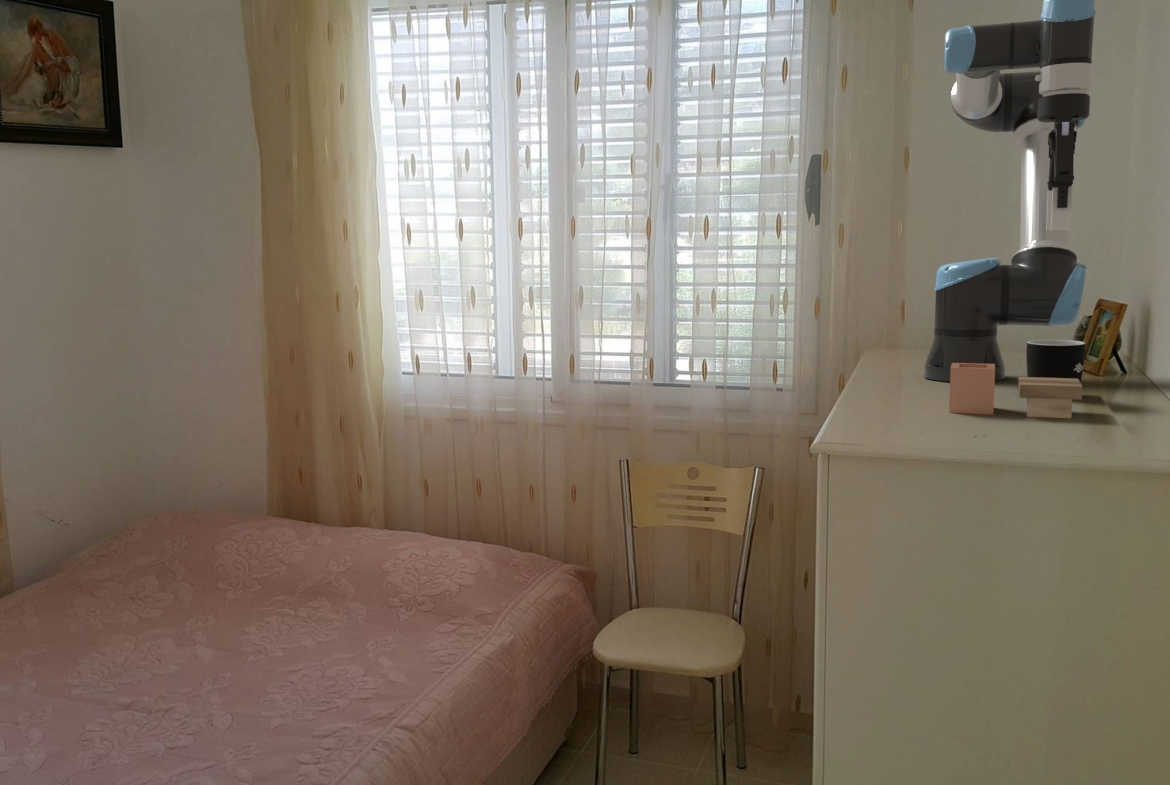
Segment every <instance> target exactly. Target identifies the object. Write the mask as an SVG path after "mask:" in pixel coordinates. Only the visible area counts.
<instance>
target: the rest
mask: <svg viewBox="0 0 1170 785" xmlns="http://www.w3.org/2000/svg"><path fill="white" fill-rule="evenodd" d="M1025 402H1026V403H1025V404H1026V408H1025V411H1026V416H1027V417H1028V418H1030V417H1031V418H1055V419H1072V415H1073V414H1072V412H1073V399H1045V398H1026V401H1025Z"/></svg>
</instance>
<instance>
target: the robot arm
mask: <svg viewBox="0 0 1170 785" xmlns="http://www.w3.org/2000/svg"><path fill="white" fill-rule="evenodd" d="M1096 12H1097V11H1096V10H1095V0H1043V1H1042V7H1041V14H1040V19H1039V20H1029V21H1017V22H1006V23H1005V22H1004V23H995V24H994V23H992V24H979V25H978V24H977V25H970V24H969V25H965V26H960V27H954V28H950V29H948V30H947V31H946V32H945V36H944V71H945V72H946V73H948V74H955V76H956V77H955V78H956V80H955V83H954V85H953V87H952V90H951V95H950V104H951V107H952V110H953V111H954V114H956V116H957V117H958V118H959V119H960V120H961V121H963V123H966V124H967V125H969V126H971V127H973V128H976V129H978V130H981V131H986V132H988V133H989V132H990V133H1006V132H1009V133H1011V132H1013V139H1014V141H1015V142H1016V143H1017V144H1018V145H1020V146H1021V153H1020V154H1021V160H1020V161H1021V162H1020V164H1021V165H1020V172H1021V173H1020V179H1021V180H1020V226H1019V228H1020V230H1019V231H1020V233H1019V235H1020V236H1019V250H1017V251H1016V252H1015V253H1014V254H1013V255H1012V256H1011V259H1010V260H1011V261H1010V264H1001V260H1000V258H999V257H989V258H988V257H987V258H982V259H973V260H972V259H971V260H966V261H965V260H964V261H959V262H953V263H947V264H943V265H941V266H940V267H939V268H938V269H937V271H936V275H935V276H936V279H935V287H934V289H933V290H934V292H935V305H934V306H935V307H934V326H933V329H934V331H933V332H934V333H933V334H934V335H933V341H932V344H931V347H930V349H929V352H928V354H927V356H926V357H927V358H926V360H925V363H924V366H923V377H924V378H926V379H928V380H933V381H941V382H949V383H950V371H951V365H952V363H979V364H995V382H998V381H999V382H1000V381H1003V380H1005V378H1006V366H1005V362H1004V359H1003V356H1002V352H1001V350H1000V345H999V342H998V326H1044V327H1045V326H1046V327H1047V326H1048V327H1052V326H1067V325H1068V326H1069V325H1072V324H1073V323H1075V321H1077V318H1078V315H1079V312H1080V307H1081V304H1082V298H1083V293H1084V286H1085V282H1086V273H1087V270H1086V269H1087V266H1086V264H1084V263H1082V262H1081V263H1080V262H1078V255H1077V253H1076V252H1075V251H1074V250H1072V249H1071V248H1070V247H1069V231H1070V230H1071V226H1072V225H1071V221H1072V202H1073V185H1074V180H1075V175H1074V162H1075V161H1074V160H1075V159H1074V154H1075V152H1076V142H1077V137H1078V136H1077V134H1078V133H1077V131H1078V129H1080V128H1082V127H1083V126H1084V124H1085V120H1086V119H1088V118H1089V117H1090V110H1091V109H1090V106H1091V95H1089V94H1088V93H1087V92H1089V91H1090V90H1091V89H1092V78H1093V77H1092V76H1093V75H1092V74H1093V73H1092V71H1093V62H1092V54H1093V42H1094V41H1093V40H1094V22H1095V16H1096ZM1032 68H1033V69H1034V68H1039V70H1038V71H1023V72H1007V73H1003V72H1002V73H1001V71H1005V70H1006V71H1007V70H1018V69H1032Z"/></svg>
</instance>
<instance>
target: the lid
mask: <svg viewBox="0 0 1170 785" xmlns="http://www.w3.org/2000/svg"><path fill="white" fill-rule="evenodd" d="M1017 387H1018V388H1017V389H1018V396H1019V399H1027V398H1045V399H1072V400H1079V401H1082V400H1083V385H1082V382H1081V383H1080V381H1079V380H1078V378H1040V377H1027V376H1018V384H1017Z"/></svg>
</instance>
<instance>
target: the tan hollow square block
mask: <svg viewBox="0 0 1170 785" xmlns="http://www.w3.org/2000/svg"><path fill="white" fill-rule="evenodd" d="M995 383H996V381H995V364H979V363H952V365H951V371H950V382H949V405H948V406H949V408H948V409H949V410H948V413H950V414H971V415H994V409H995V408H994V407H995V406H994V405H995Z"/></svg>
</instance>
